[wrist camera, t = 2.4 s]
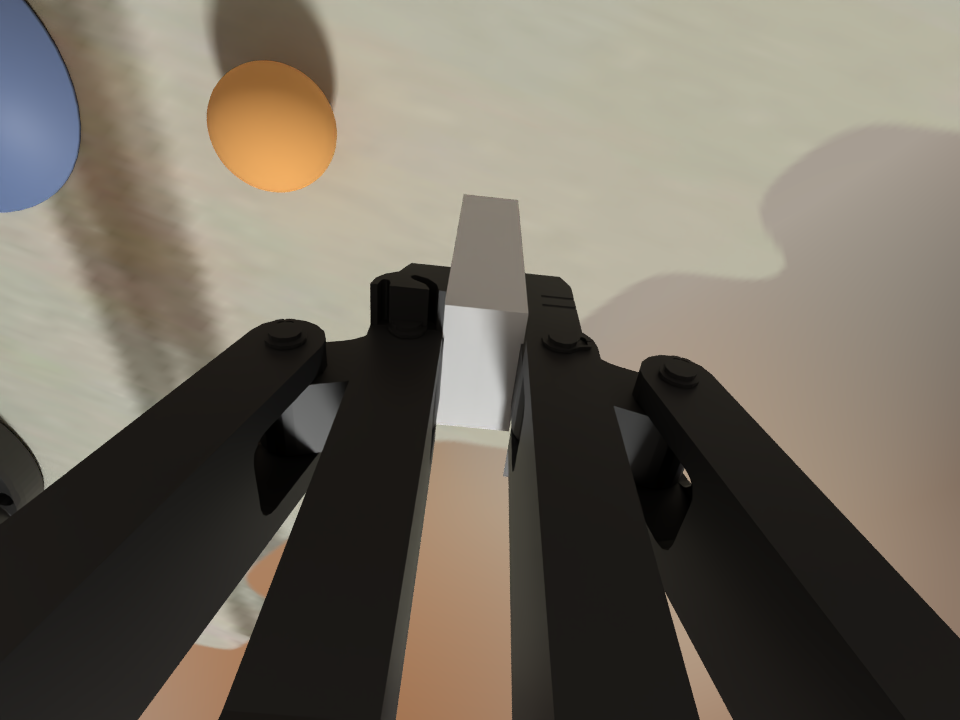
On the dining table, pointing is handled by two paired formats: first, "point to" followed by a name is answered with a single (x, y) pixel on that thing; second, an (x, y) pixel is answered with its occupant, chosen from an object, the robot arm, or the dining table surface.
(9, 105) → the disc
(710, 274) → the dining table surface
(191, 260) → the dining table surface
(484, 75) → the dining table surface
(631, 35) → the dining table surface
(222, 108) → the ball
